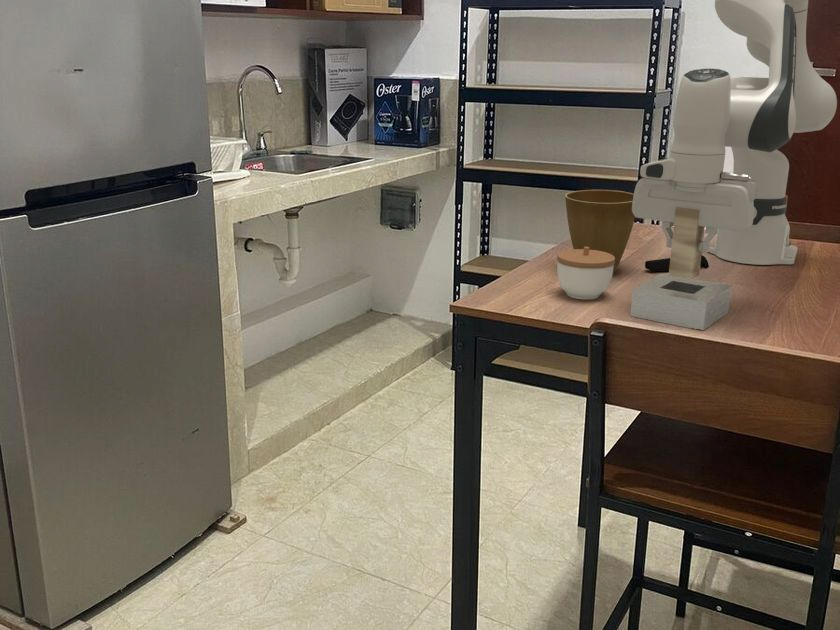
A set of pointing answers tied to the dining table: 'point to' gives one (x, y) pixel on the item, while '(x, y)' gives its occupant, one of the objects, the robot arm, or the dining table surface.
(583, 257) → the lidded jar
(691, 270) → the ash peg
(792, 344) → the dining table surface
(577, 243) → the plant pot
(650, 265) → the electric trimmer
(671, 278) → the socket block
